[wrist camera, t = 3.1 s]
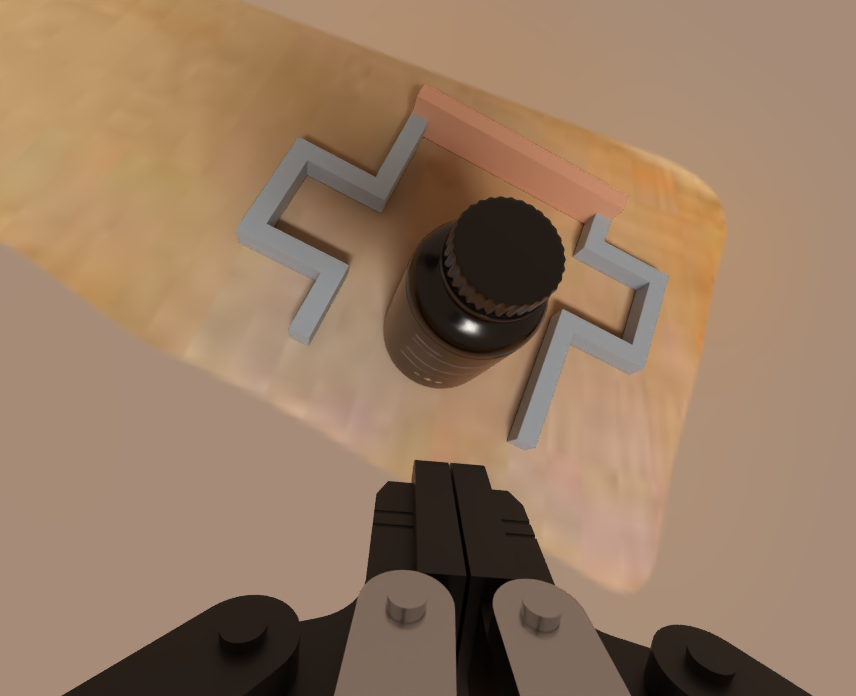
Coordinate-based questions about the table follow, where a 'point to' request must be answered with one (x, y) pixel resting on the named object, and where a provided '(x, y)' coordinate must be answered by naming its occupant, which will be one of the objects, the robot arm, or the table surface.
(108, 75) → the table surface
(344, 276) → the grey zigzag frame
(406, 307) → the supplement bottle
